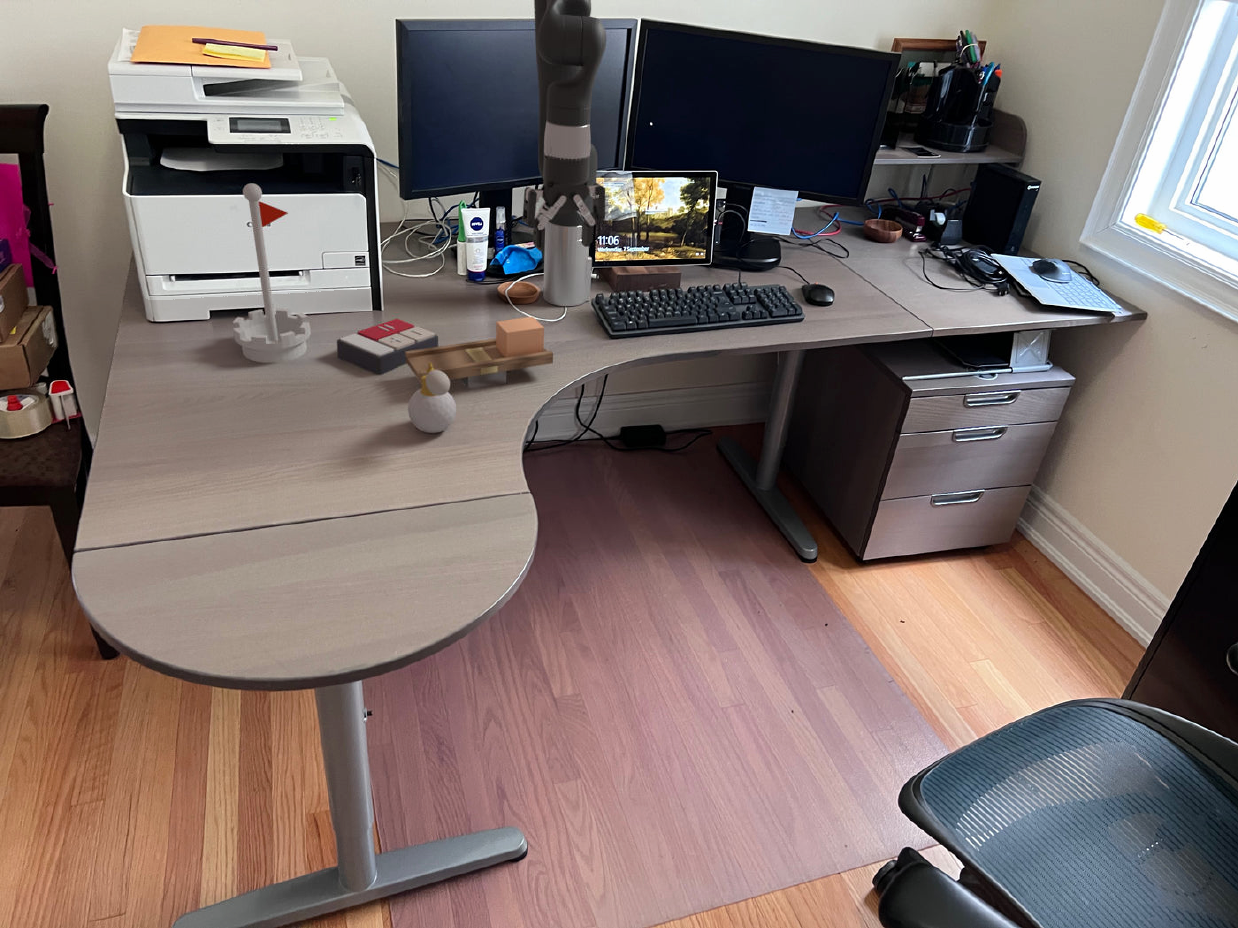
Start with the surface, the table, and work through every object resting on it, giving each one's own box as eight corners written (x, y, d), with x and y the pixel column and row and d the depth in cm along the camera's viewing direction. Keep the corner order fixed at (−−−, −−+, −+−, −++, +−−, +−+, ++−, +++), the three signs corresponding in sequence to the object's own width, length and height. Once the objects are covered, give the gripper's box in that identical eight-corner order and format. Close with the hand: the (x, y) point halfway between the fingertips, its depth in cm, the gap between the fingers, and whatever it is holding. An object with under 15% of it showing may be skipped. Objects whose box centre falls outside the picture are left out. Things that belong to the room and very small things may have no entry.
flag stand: (237, 368, 157) (208, 196, 141) (235, 338, 167) (207, 174, 152) (316, 361, 162) (296, 193, 146) (309, 332, 172) (289, 172, 156)
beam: (532, 357, 169) (533, 333, 167) (552, 378, 163) (553, 353, 160) (406, 377, 159) (405, 351, 156) (422, 400, 152) (421, 373, 150)
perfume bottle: (436, 412, 149) (434, 346, 143) (475, 434, 144) (474, 367, 138) (399, 427, 144) (394, 359, 138) (438, 451, 139) (435, 381, 133)
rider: (532, 342, 165) (532, 316, 163) (543, 353, 162) (544, 327, 159) (496, 347, 162) (496, 321, 160) (506, 359, 159) (506, 332, 156)
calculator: (439, 332, 168) (378, 354, 157) (439, 353, 170) (379, 376, 159) (396, 316, 173) (335, 336, 162) (397, 337, 175) (336, 358, 164)
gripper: (596, 144, 153) (591, 237, 162) (517, 147, 147) (516, 244, 156) (616, 155, 148) (609, 251, 156) (535, 158, 142) (532, 258, 150)
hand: (562, 247), depth 156 cm, fingers open, 8 cm apart
